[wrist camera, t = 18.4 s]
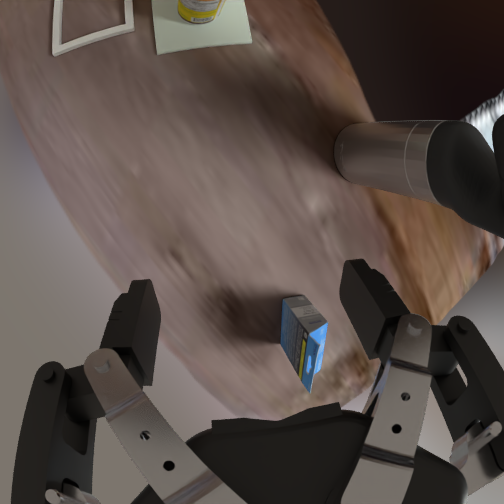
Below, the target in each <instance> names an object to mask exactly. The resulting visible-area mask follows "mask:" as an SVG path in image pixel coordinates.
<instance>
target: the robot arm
mask: <svg viewBox="0 0 504 504" xmlns="http://www.w3.org/2000/svg"><path fill="white" fill-rule="evenodd" d="M492 140H493V148H494V152H493V151H492V149H491V148H490V146H489V145H488V143H487V142H486V140H485V139H484V137H483V136H482V134H481V133H480V132H479V131H478V130H477V129H476V128H475V127H474V126H473V125H471V124H469V123H467V122H463V121H434V120H430V121H429V120H428V121H390V122H371V123H357V124H351V125H349V126H347V127H345V128H344V129H343V130H342V131H341V132H340V133H339V135H338V137H337V139H336V142H335V147H334V158H335V163H336V166H337V168H338V170H339V172H340V173H341V175H342V176H343V177H344V178H345V179H346V180H348V181H349V182H352V183H354V184H359V185H363V186H368V187H371V188H376V189H380V190H384V191H388V192H392V193H396V194H400V195H404V196H408V197H412V198H416V199H419V200H423V201H427V202H431V203H434V204H438V205H441V206H444V207H447V208H450V209H452V210H454V211H455V212H456V213H457V214H458V215H459V216H460V217H461V218H462V219H464V220H465V221H467V222H468V223H470V224H472V225H475V226H477V227H479V228H482V229H484V230H486V231H488V232H490V233H493V234H495V235H497V236H499V237H501V238H503V239H504V114H503V115H502V116H500V117H499V118H498V119H497V121H496V122H495V124H494V126H493V131H492ZM340 300H341V303H342V305H343V307H344V309H345V311H346V313H347V315H348V317H349V319H350V321H351V323H352V325H353V327H354V329H355V331H356V333H357V335H358V337H359V339H360V341H361V343H362V345H363V348H364V350H365V352H366V354H367V356H368V358H369V360H371V359H375V358H379V359H380V361H381V363H380V365H379V368H378V371H377V374H376V377H375V380H374V383H373V386H372V389H371V392H370V395H369V397H368V401H367V403H366V405H365V407H364V409H363V411H362V413H360V412H355V411H351V410H341V407H340V404H339V402H336V403H332V404H328V405H323V406H318V407H313V408H309V409H306V410H304V411H302V412H299V413H297V414H295V415H292V416H290V417H287V418H285V419H282V420H279V421H270V420H259V419H250V418H236V419H225V420H212V428H211V429H207V430H205V431H202V432H200V433H198V434H196V435H195V436H193V437H191V438H190V439H189V440H187V441H186V442H184V441H183V440H182V439H181V438H180V437H179V435H178V434H177V433H176V432H175V431H174V430H173V428H172V427H171V426H170V425H169V424H168V422H167V421H166V420H165V419H164V418H163V416H162V415H161V414H160V412H159V411H158V410H157V408H156V407H155V406H154V405H153V403H152V402H151V401H150V400H149V398H148V397H147V396H146V394H145V393H144V392H143V391H142V389H143V386H152V381H153V373H154V365H155V357H156V349H157V343H158V336H159V330H160V323H161V312H160V307H159V304H158V301H157V297H156V294H155V291H154V287H153V284H152V281H151V280H150V279H144V280H133V281H132V282H131V285H130V288H129V291H128V293H122V294H121V295H120V296H119V298H118V299H117V300H116V301H115V302H114V305H113V308H112V311H111V314H110V316H109V321H108V323H107V326H106V329H105V332H104V335H103V338H102V341H101V345H100V348H99V349H98V350H96V351H94V352H92V353H91V354H90V355H89V356H88V357H87V359H86V360H85V363H84V365H81V366H77V367H73V368H69V369H64V367H63V366H62V365H61V364H60V363H58V362H55V361H52V362H48V363H45V364H44V365H42V366H41V367H40V368H39V369H38V371H37V373H36V375H35V378H34V381H33V384H32V388H31V391H30V395H29V398H28V402H27V406H26V410H25V414H24V418H23V422H22V427H21V431H20V436H19V441H18V447H17V453H16V460H15V466H14V474H13V483H12V494H11V504H101V503H100V502H99V500H98V499H97V498H96V497H95V496H93V495H92V473H93V471H92V470H93V455H94V442H95V432H96V422H97V418H100V417H106V420H107V422H108V423H109V425H110V427H111V428H112V430H113V432H114V433H115V435H116V437H117V438H118V440H119V441H120V443H121V445H122V446H123V448H124V449H125V451H126V452H127V454H128V455H129V457H130V458H131V460H132V461H133V462H134V464H135V465H136V467H137V468H138V469H139V471H140V472H141V473H142V475H143V476H144V478H145V479H146V480H147V482H148V483H149V484H148V485H147V486H146V487H145V488H144V490H143V491H142V492H141V493H140V494H139V495H138V496H137V497H136V498H135V499H134V501H133V502H132V503H131V504H466V503H467V497H468V496H469V495H470V494H472V493H474V492H475V491H477V490H478V489H480V488H481V487H483V486H485V485H486V484H488V483H490V482H492V481H494V480H496V479H498V478H499V477H501V476H503V475H504V371H503V369H502V367H501V366H500V364H499V362H498V361H497V359H496V357H495V355H494V354H493V352H492V351H491V349H490V348H489V346H488V345H487V343H486V341H485V340H484V338H483V337H482V335H481V334H480V333H479V331H478V329H477V328H476V326H475V325H474V324H473V322H471V321H470V320H469V319H467V318H466V317H463V316H454V317H452V318H451V319H450V320H449V322H448V324H447V326H439V325H430V323H429V322H428V321H427V320H426V319H425V318H424V317H422V316H420V315H418V314H412V313H410V311H409V310H408V308H407V307H406V305H405V304H404V303H403V301H402V300H401V298H400V297H399V295H398V294H397V293H396V291H394V289H393V287H392V286H391V285H390V283H389V282H388V280H387V279H386V278H385V276H384V275H383V274H381V273H380V272H378V271H377V270H376V269H371V268H370V267H369V266H368V264H367V263H366V262H365V260H364V259H355V260H346V261H345V263H344V267H343V273H342V279H341V284H340ZM458 364H459V365H460V367H461V369H462V370H463V372H464V374H465V376H466V378H467V383H468V385H467V387H466V385H465V383H464V381H463V379H462V377H461V375H460V373H459V371H458V370H457V368H456V366H457V365H458ZM430 387H431V389H432V391H433V394H434V396H435V398H436V400H437V403H438V405H439V407H440V410H441V412H442V414H443V417H444V419H445V421H446V424H447V426H448V429H449V431H450V434H451V436H452V439H453V442H454V444H453V447H452V454H451V456H450V463H449V462H447V461H445V460H443V459H441V458H439V457H438V456H436V455H434V454H432V453H430V452H429V451H427V450H425V449H423V448H421V447H420V446H418V445H417V444H418V440H419V436H420V432H421V428H422V424H423V420H424V415H425V410H426V406H427V401H428V395H429V389H430Z"/></svg>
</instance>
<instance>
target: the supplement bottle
mask: <svg viewBox="0 0 504 504" xmlns="http://www.w3.org/2000/svg"><path fill="white" fill-rule="evenodd" d="M225 1H226V0H178V14H179V16H180V17H181V19H182V20H184V21H185V22H187V23H190V24H193V25H203V24H207V23H210V22H212V21H214V20H215V19H216V18H217V17H218V16H219V14H220V12H221V10H222V8H223V5H224V3H225Z"/></svg>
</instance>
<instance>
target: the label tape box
mask: <svg viewBox="0 0 504 504" xmlns="http://www.w3.org/2000/svg"><path fill="white" fill-rule="evenodd" d="M327 326H328V321H327V320H326V319H325V318H324V317H323V316H322V315H321V313H320V312H319V311H318V310H317V309H316V308H315V307H314V306H313V304H312V303H311V302H310V301H309V300H308V299H307V298H306V297H305V296H304V295H303V296H296V297H290V298H284V299H283V304H282V324H281V343H280V344H281V346H282V348H283V349H284V351H285V353H286V355H287V357H288V359H289V360H290V362H291V364H292V366H293V368H294V369H295V371H296V373H297V374H298V376H299V378H300V380H301V381H302V383H303V384H304V386H305V387H306V389H307V390H308V391H309V393H311V387H312V382H313V377H314V374H315V373H317V372H318V371H320V369H321V363H322V357H323V351H324V345H325V339H326V332H327Z"/></svg>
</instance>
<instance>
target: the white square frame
mask: <svg viewBox="0 0 504 504" xmlns="http://www.w3.org/2000/svg"><path fill="white" fill-rule="evenodd" d="M124 3H125V22H126V24H123V25H119V26H115V27H112V28H108V29H105V30H102V31H98V32H95V33H92V34H89V35H86V36H83V37H80V38H78V39H75V40H72V41H70V42H67V43H64V44H61V38H62V8H63V0H55V2H54V15H53V39H52V55H54V56H58V55H60V54H63V53H65V52H68V51H71V50H73V49H76V48H79V47H81V46H84V45H87V44H90V43H93V42H96V41H100V40H103V39H106V38H110V37H113V36H117V35H120V34H124V33H128V32H132V31H135V30H134V16H133V0H124Z"/></svg>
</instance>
